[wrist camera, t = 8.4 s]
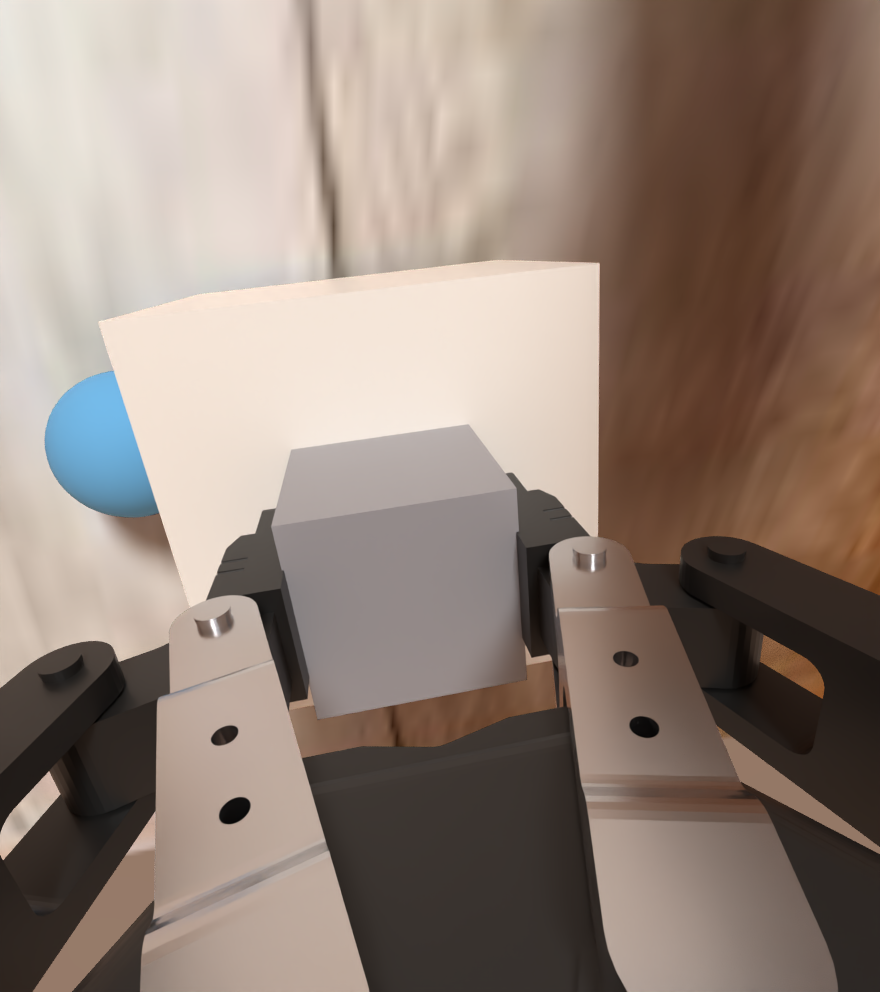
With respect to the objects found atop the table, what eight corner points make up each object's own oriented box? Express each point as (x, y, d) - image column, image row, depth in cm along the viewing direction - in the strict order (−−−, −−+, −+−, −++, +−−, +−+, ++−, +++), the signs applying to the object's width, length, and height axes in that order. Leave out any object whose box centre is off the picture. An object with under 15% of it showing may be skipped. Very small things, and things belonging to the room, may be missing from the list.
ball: (135, 329, 21) (77, 351, 16) (249, 421, 23) (226, 463, 18) (54, 428, 22) (-23, 475, 17) (170, 509, 24) (129, 571, 19)
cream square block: (498, 259, 20) (707, 266, 9) (513, 521, 24) (670, 765, 13) (199, 294, 19) (-18, 354, 8) (266, 561, 23) (191, 867, 12)
